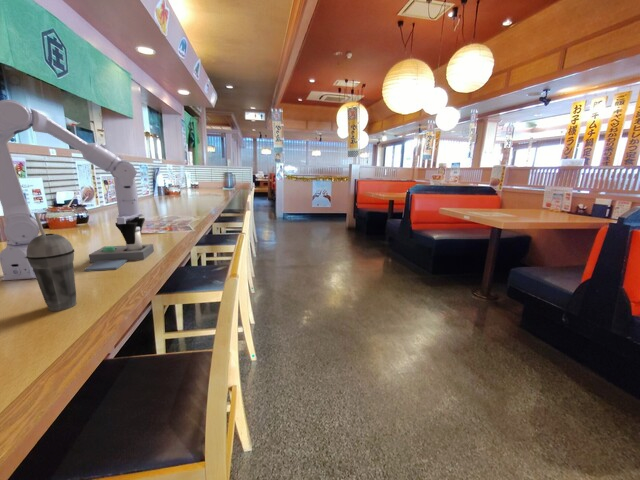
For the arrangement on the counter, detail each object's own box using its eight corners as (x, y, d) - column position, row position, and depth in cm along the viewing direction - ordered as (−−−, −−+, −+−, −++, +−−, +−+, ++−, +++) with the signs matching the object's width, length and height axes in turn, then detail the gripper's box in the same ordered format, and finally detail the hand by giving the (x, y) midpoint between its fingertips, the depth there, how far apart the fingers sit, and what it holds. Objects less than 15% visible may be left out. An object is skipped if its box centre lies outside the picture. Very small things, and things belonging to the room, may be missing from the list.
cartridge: (140, 253, 95) (137, 228, 93) (124, 253, 94) (120, 229, 92) (145, 249, 100) (142, 226, 98) (130, 250, 99) (126, 226, 97)
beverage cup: (93, 299, 65) (76, 209, 60) (62, 315, 58) (39, 215, 53) (63, 298, 66) (43, 208, 61) (29, 313, 59) (3, 214, 54)
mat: (116, 269, 84) (116, 267, 84) (84, 271, 83) (84, 269, 83) (127, 260, 92) (127, 259, 92) (98, 262, 90) (98, 260, 90)
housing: (144, 259, 93) (143, 252, 93) (90, 262, 90) (88, 254, 90) (154, 251, 103) (153, 244, 102) (105, 253, 100) (104, 246, 99)
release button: (113, 257, 94) (111, 248, 94) (102, 257, 94) (101, 248, 93) (117, 254, 97) (115, 245, 97) (107, 255, 97) (105, 246, 96)
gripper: (132, 202, 87) (139, 247, 90) (149, 197, 101) (154, 236, 104) (105, 203, 85) (113, 248, 89) (126, 198, 99) (131, 237, 102)
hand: (133, 242), depth 96 cm, fingers closed on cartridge, 4 cm apart
